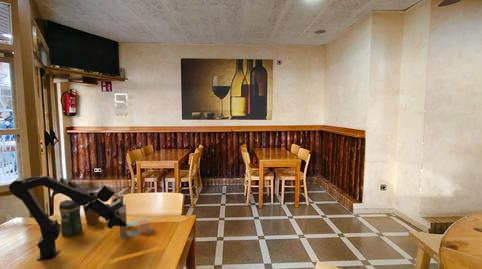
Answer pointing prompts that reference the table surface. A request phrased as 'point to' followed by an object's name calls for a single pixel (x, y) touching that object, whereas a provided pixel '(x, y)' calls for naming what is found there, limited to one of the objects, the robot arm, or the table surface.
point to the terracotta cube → (143, 226)
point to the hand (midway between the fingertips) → (125, 224)
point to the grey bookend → (132, 223)
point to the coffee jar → (70, 218)
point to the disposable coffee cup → (91, 217)
